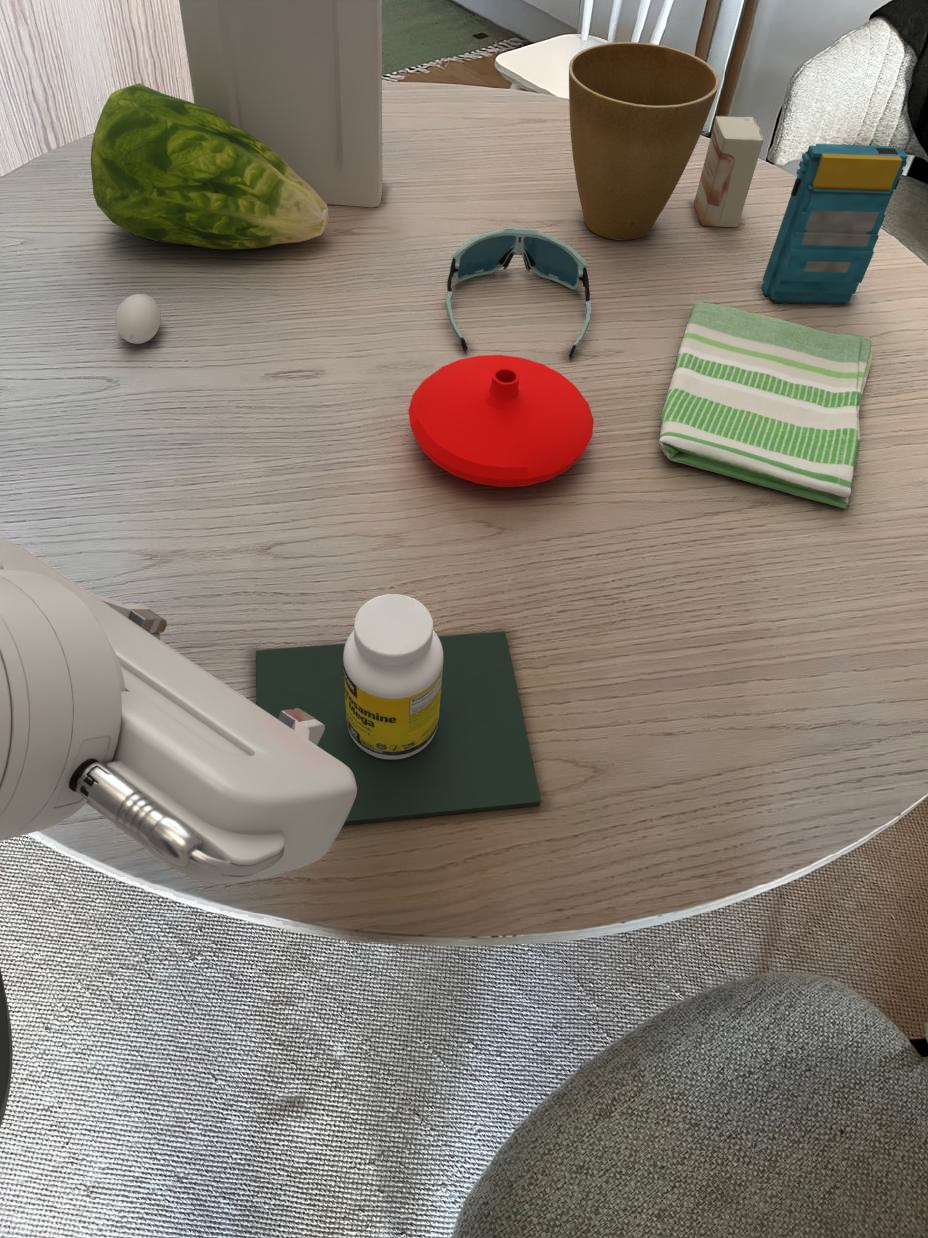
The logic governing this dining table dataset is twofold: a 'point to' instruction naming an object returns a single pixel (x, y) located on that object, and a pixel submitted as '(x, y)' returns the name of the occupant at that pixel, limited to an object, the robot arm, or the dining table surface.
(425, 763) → the mat
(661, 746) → the dining table surface
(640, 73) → the plant pot
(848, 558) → the dining table surface
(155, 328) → the egg
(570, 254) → the sunglasses
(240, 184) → the lettuce
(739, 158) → the small cream box
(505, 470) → the flat cone with hole
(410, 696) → the pill bottle
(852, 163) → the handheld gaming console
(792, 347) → the dish towel
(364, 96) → the tall white carton
